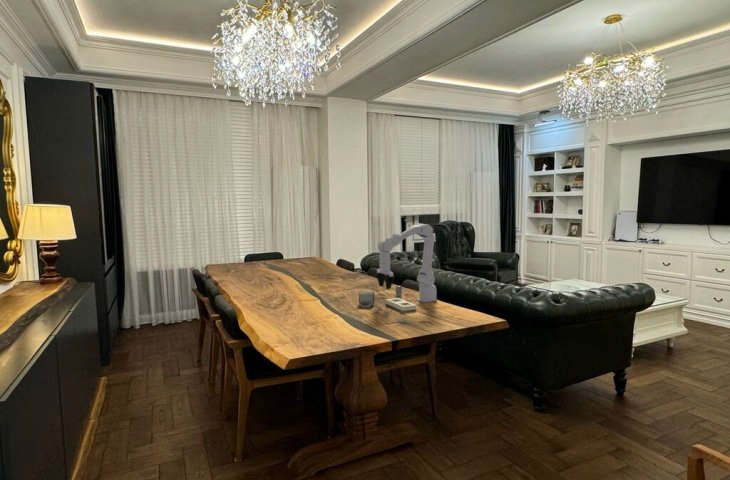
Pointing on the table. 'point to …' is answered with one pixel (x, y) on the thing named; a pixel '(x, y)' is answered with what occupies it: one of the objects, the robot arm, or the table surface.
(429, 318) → the table surface
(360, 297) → the ceramic mug
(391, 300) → the board
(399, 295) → the pin
